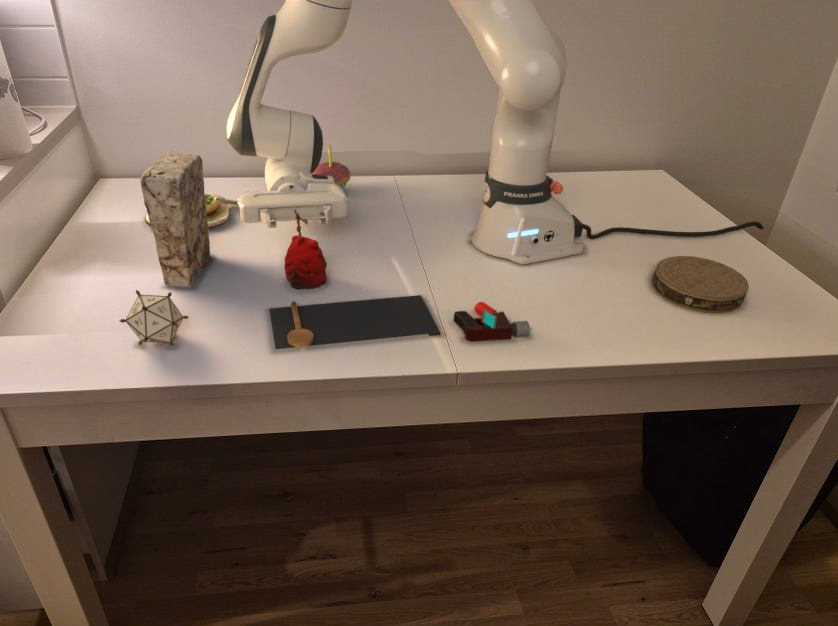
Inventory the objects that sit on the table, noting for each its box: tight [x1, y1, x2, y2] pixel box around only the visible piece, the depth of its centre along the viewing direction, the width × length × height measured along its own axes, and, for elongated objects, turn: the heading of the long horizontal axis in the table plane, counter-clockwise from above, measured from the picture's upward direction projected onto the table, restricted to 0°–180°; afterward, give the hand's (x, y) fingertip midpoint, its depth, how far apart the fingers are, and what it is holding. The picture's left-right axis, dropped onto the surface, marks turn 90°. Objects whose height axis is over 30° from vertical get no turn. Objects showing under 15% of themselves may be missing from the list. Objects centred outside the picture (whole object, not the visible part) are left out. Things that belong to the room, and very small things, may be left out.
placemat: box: [268, 294, 441, 350], centre depth 106 cm, size 26×12×1 cm, turn 104°
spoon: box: [287, 300, 314, 348], centre depth 103 cm, size 12×4×1 cm, turn 14°
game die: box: [119, 289, 190, 346], centre depth 97 cm, size 9×8×10 cm
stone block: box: [139, 150, 212, 288], centre depth 112 cm, size 13×7×20 cm, turn 2°
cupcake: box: [312, 143, 351, 192], centre depth 146 cm, size 9×8×12 cm
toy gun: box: [453, 301, 534, 342], centre depth 105 cm, size 10×12×5 cm
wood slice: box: [651, 255, 750, 314], centre depth 119 cm, size 16×16×3 cm
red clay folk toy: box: [283, 210, 328, 290], centre depth 111 cm, size 8×7×15 cm
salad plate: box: [144, 193, 240, 229], centre depth 136 cm, size 19×18×5 cm
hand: (298, 222), depth 118 cm, fingers open, 8 cm apart
